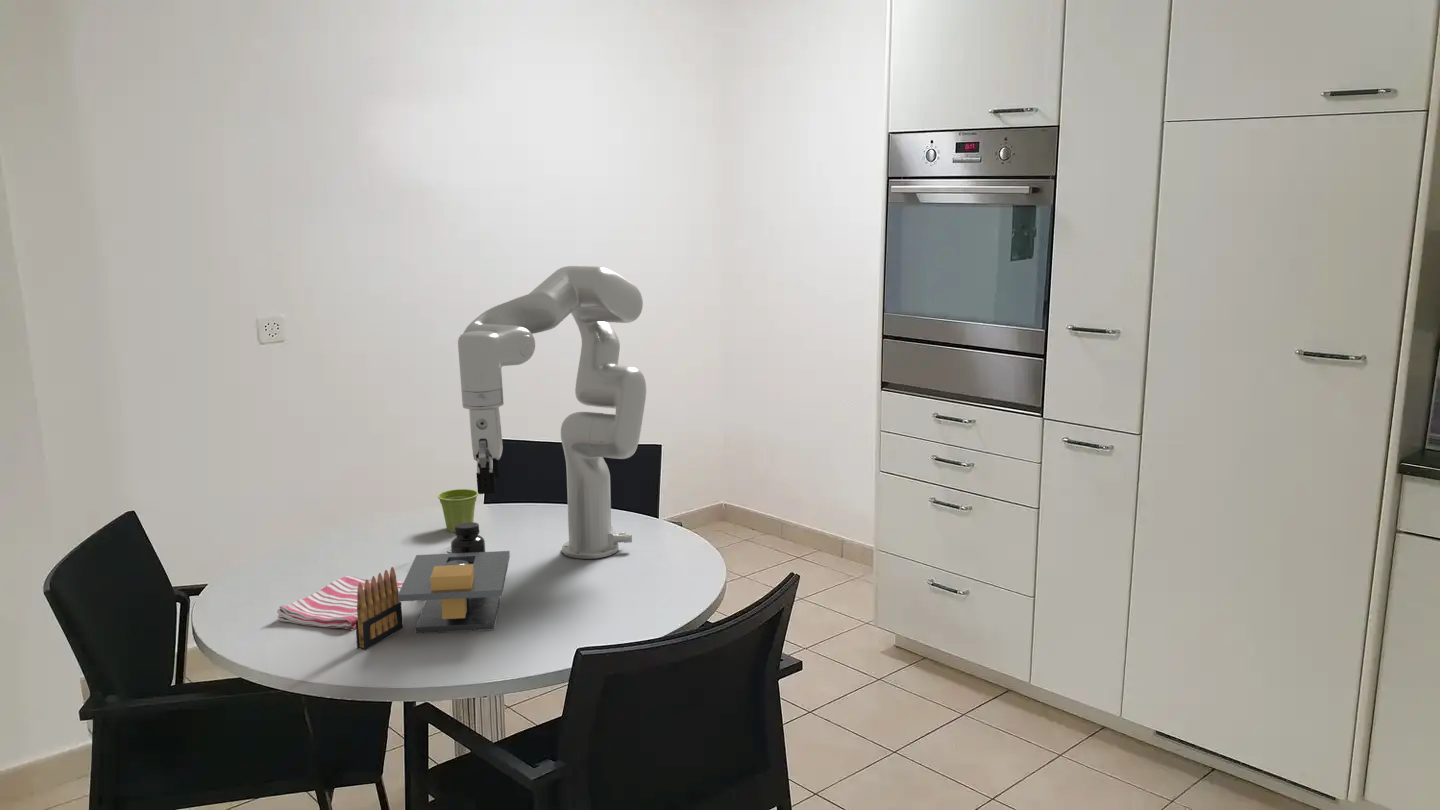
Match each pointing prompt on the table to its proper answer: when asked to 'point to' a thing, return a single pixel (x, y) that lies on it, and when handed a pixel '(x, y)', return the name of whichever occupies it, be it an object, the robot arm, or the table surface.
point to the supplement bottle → (467, 539)
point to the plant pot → (458, 506)
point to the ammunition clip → (378, 610)
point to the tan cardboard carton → (453, 587)
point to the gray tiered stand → (457, 591)
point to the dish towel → (328, 605)
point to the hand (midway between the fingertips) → (488, 485)
